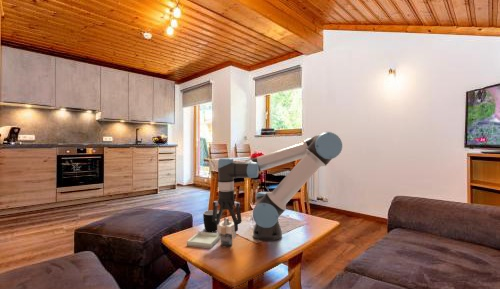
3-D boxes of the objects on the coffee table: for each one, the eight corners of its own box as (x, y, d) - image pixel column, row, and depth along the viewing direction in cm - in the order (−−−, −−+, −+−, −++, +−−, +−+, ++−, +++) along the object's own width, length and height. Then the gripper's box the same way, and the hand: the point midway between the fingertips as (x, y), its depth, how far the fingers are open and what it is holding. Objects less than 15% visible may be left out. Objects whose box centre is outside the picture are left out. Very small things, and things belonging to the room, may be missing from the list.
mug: (221, 231, 137) (221, 213, 136) (205, 234, 133) (204, 215, 133) (216, 224, 148) (216, 208, 148) (201, 226, 145) (201, 209, 144)
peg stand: (234, 242, 122) (233, 216, 122) (230, 247, 117) (229, 220, 116) (223, 241, 123) (223, 215, 123) (219, 246, 118) (218, 219, 118)
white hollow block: (222, 227, 124) (222, 220, 124) (236, 228, 122) (236, 221, 122) (216, 233, 116) (215, 226, 116) (230, 235, 114) (230, 227, 114)
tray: (221, 238, 128) (221, 233, 128) (210, 248, 116) (210, 243, 116) (199, 235, 131) (198, 231, 131) (186, 245, 119) (186, 241, 119)
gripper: (248, 189, 120) (248, 235, 121) (210, 187, 126) (211, 232, 126) (243, 192, 113) (244, 242, 114) (203, 190, 118) (204, 238, 119)
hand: (227, 236), depth 120 cm, fingers closed on white hollow block, 7 cm apart
